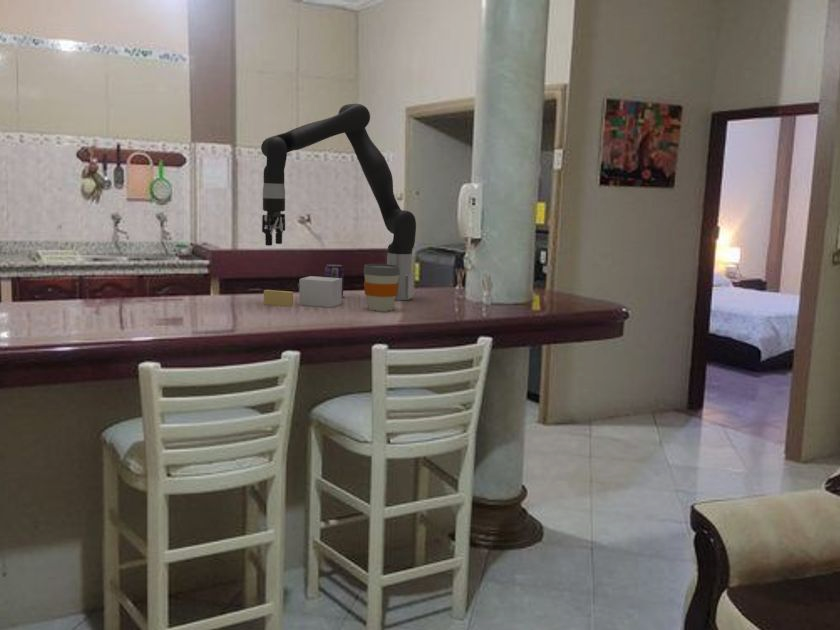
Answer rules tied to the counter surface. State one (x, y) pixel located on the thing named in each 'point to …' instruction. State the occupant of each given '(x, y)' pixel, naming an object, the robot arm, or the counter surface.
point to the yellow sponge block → (278, 298)
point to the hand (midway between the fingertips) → (273, 244)
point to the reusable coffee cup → (381, 286)
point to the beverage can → (334, 272)
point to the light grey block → (320, 291)
